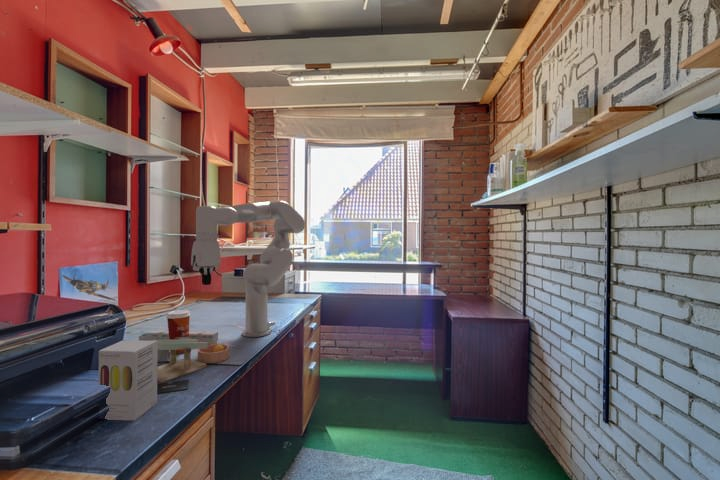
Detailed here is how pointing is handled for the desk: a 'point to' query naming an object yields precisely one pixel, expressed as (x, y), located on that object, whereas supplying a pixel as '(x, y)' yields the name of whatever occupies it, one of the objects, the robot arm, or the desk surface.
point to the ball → (218, 348)
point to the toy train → (199, 335)
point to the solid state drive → (172, 386)
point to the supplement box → (129, 378)
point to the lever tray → (177, 346)
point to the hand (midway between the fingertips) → (206, 284)
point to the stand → (178, 366)
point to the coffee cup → (178, 325)
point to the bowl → (213, 354)
